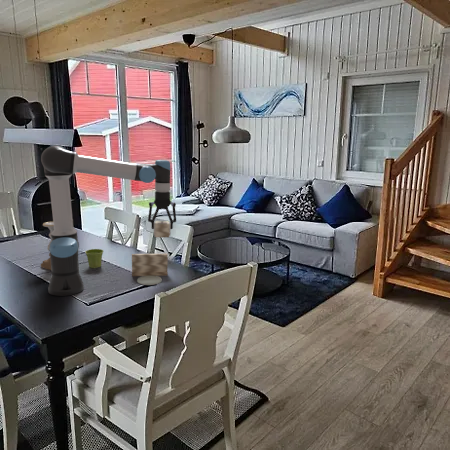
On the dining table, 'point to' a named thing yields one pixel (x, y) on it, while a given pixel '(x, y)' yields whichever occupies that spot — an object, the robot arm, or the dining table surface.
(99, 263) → the plant pot
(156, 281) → the sage mat
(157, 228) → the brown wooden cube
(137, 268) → the birch screen
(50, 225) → the candle holder
